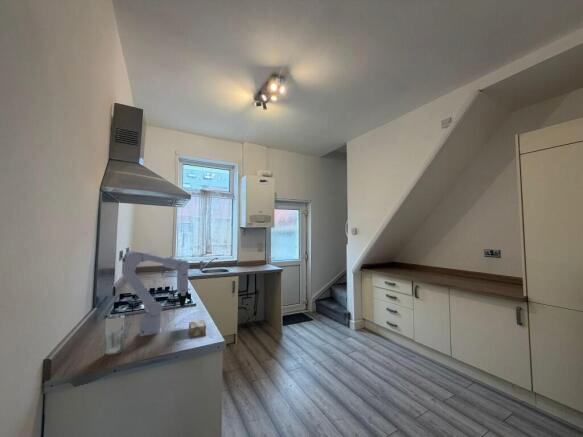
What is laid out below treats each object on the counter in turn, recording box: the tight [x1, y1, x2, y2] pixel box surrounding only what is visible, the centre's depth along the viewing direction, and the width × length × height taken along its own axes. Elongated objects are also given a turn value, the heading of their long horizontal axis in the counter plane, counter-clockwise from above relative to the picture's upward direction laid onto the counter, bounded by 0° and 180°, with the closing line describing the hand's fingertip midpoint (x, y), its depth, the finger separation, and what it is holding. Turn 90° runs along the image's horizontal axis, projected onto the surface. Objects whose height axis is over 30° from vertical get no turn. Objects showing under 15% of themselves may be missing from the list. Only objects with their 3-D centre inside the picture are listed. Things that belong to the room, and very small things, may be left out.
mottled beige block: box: [188, 319, 207, 336], centre depth 126 cm, size 4×9×7 cm
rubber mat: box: [169, 327, 207, 343], centre depth 124 cm, size 16×14×1 cm
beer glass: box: [104, 313, 126, 356], centre depth 107 cm, size 7×7×15 cm
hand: (182, 305), depth 138 cm, fingers closed
